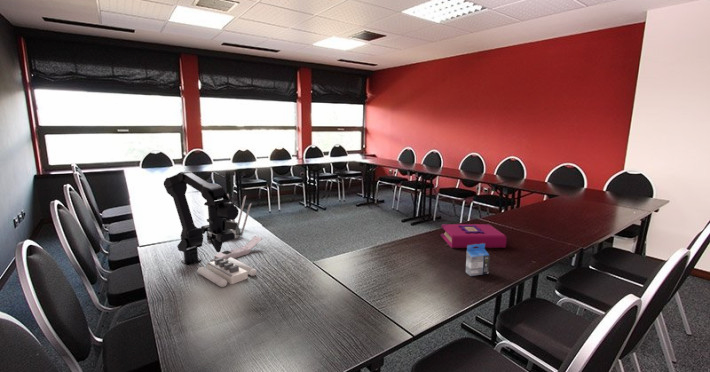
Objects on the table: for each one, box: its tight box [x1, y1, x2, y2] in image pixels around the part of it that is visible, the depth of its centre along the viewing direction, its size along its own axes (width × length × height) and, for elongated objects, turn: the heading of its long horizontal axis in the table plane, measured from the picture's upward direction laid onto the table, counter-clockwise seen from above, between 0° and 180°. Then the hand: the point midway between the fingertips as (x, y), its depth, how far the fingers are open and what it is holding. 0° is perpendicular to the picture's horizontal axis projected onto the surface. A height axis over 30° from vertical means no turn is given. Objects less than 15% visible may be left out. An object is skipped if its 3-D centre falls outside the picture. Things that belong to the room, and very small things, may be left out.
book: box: [440, 223, 507, 249], centre depth 179 cm, size 21×28×8 cm
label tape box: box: [465, 244, 491, 277], centre depth 140 cm, size 9×4×12 cm, turn 105°
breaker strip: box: [206, 257, 249, 285], centre depth 138 cm, size 20×7×5 cm, turn 49°
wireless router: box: [206, 193, 252, 242], centre depth 188 cm, size 34×23×20 cm
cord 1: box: [197, 266, 228, 288], centre depth 133 cm, size 20×3×3 cm, turn 49°
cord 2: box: [228, 257, 257, 277], centre depth 143 cm, size 20×3×3 cm, turn 49°
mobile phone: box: [209, 236, 263, 262], centre depth 159 cm, size 6×6×25 cm
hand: (218, 252), depth 141 cm, fingers closed
